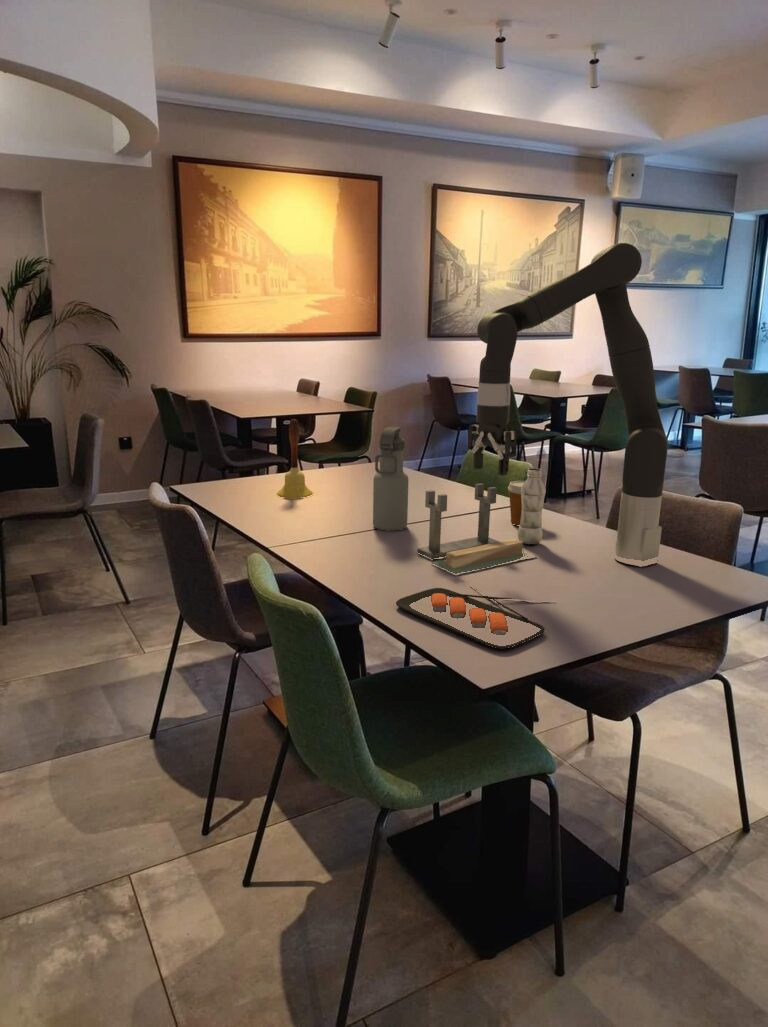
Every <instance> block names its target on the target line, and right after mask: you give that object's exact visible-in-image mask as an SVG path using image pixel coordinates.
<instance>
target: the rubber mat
mask: <svg viewBox="0 0 768 1027" xmlns="http://www.w3.org/2000/svg"><path fill="white" fill-rule="evenodd" d="M522 551H523V553H521V554H517V555H512V556H508V557H503V558H499V559H494V560H490V561H485V562H480V563H476V564H471V565H467V566H462V567H458V568H452V567H450V566H448V565H446V559H443V560H442V559H441V560H438V561H437V560H436V561H431V565H432V564H435V565H437V566H439V567H441V568H444V569H446V570H448V571H450V572H453V573H455V574H457V573H461V572H467V571H472V570H477V569H482V568H487V567H491V566H494V565H498V564H502V563H506V562H510V561H514V560H517V559H520V558H521V557H523V554H524V556H525V553H524V551H525V550H524V549H522ZM526 555H527V553H526ZM527 557H528V556H527Z"/></svg>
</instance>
